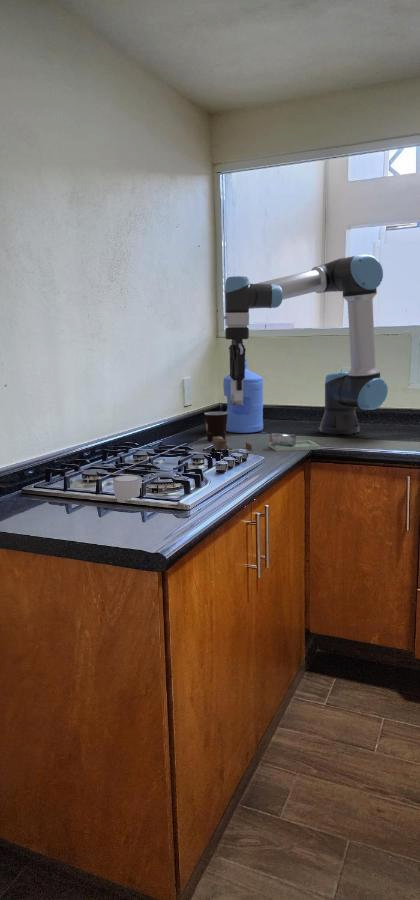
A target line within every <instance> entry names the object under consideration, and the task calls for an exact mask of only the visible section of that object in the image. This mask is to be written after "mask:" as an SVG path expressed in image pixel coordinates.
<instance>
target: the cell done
mask: <svg viewBox="0 0 420 900" xmlns="http://www.w3.org/2000/svg"><path fill="white" fill-rule="evenodd" d="M268 441H269V443H270V445H278V446H293V447H294V446H295V444H296V441H297V436H296V434H290V433H276V432H275V433H273V432H271V433H270V435H269V437H268Z"/></svg>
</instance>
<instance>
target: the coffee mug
mask: <svg viewBox="0 0 420 900" xmlns="http://www.w3.org/2000/svg"><path fill="white" fill-rule="evenodd" d="M203 416H204V423H205V429H206V438H207V441H208V442H212V437H217V436H221V437H222V438H223V439H225V440H226V434H227V431H226V426H227V416H228V413H227V412H226V411H208V412H207V411H206V412H204V413H203Z"/></svg>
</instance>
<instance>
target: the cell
mask: <svg viewBox="0 0 420 900" xmlns="http://www.w3.org/2000/svg"><path fill="white" fill-rule="evenodd" d="M242 405H243V400H241V401H234V380H232V381H231V406H242Z"/></svg>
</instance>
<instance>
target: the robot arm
mask: <svg viewBox="0 0 420 900" xmlns="http://www.w3.org/2000/svg"><path fill="white" fill-rule="evenodd" d="M383 278H384V269H383V266H382V264H381V262H380V261H379V260H378V259H377V258H376V257H375V256H373V255H371V254H358V255H353V256H352V255H351V256H347V257H341V258H337V259H335V260H332V261H329V262H327V263H324V264H320V265H315V266H313V267H312V268H311V270H308V271H303V272H300V273H296V274H291V275H287V276H283V277H278V278H273V279H269V280H265V281H260V282H257V283H256V282H255V283H250V278H249V277H248V276H241V275H240V276H239V275H238V276H237V275H236V276H235V275H234V276H229V277H227V278H226V279H225V286H224V295H225V296H224V298H225V299H224V302H225V304H224V306H225V309H224V310H225V315H224V316H223V320H225V326H226V327H225V329H224V330H225V332H224V333H225V334H224V336H225V339H226V340H231V344H230V345H229V347H228V351H229V375H230V377H231V381H232V380H234V401H241V400H243V379H244V378H245V359H246V350H247V349H246V347H245V345H244V343H243V340H247V339H249V338H250V335H249V334H250V329H249V327H248V326H250V309H252V310H253V309H275V308H278V307H280V306H281V304H282V302H283V300H287V299H290V298H295V297H300V296H303V295H307V294H308V295H309V294H312V293H316V294H322V293H331V292H336V293H337V292H342V298H343V299H344V300H345V301H347V314H348V315H347V317H348V318H347V319H348V332H349V333H348V335H349V350H350V351H349V353H350V354H349V355H350V370H348V371H344V372H334V373H328V374H327V375H326V376H325V382H324V413H323V416H322V419H321V422H320V426H319V433H323V434H327V435H337V434H346V435H354V434H353V433H355V434H358V433H360V423H359V421H358V418H357V416H358V415H357V414H356V409H361V410H364V411H367V410H369V411H372V410H376V409H378V408H379V407H381V406H382V405H383V403H384V402H385V401H386V400H387V395H388V390H389V389H388V384H387V382H385V380H384V379H382V378H381V371H380V370H379V369H378V368H377V366H376V351H375V349H376V347H375V327H374V326H375V325H374V322H375V321H374V304H373V303H374V302H373V301H374V300H373V299H374V297H376V295H377V294H378V293H377V292H378V291H377V289H378V287H380V285H381V284H382V283H381V282H383ZM357 432H358V433H357Z"/></svg>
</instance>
